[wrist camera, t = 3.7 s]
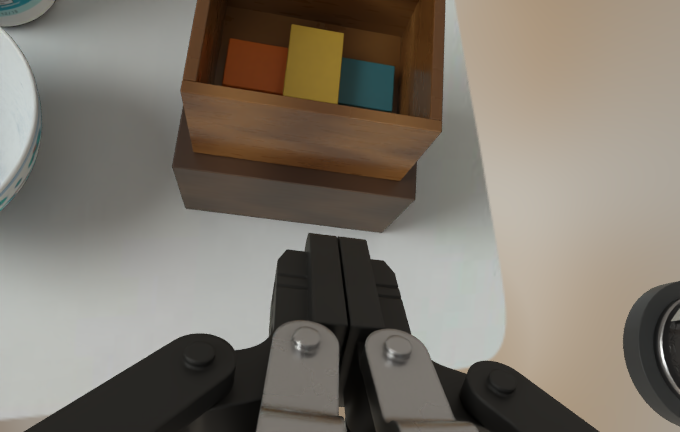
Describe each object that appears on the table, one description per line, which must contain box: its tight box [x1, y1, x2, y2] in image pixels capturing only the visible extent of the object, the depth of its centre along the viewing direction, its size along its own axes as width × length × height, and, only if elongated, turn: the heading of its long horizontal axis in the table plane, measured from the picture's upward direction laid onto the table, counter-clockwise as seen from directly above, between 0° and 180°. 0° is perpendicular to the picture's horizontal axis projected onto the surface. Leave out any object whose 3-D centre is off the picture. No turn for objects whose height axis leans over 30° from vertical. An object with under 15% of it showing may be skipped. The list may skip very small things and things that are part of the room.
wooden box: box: [180, 0, 445, 181], centre depth 29 cm, size 12×10×7 cm
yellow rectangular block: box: [282, 24, 344, 104], centre depth 30 cm, size 4×3×1 cm, turn 175°
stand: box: [172, 106, 417, 233], centre depth 36 cm, size 14×11×8 cm
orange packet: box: [222, 38, 288, 96], centre depth 31 cm, size 4×3×1 cm, turn 85°
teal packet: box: [338, 57, 395, 113], centre depth 32 cm, size 4×3×1 cm, turn 85°
